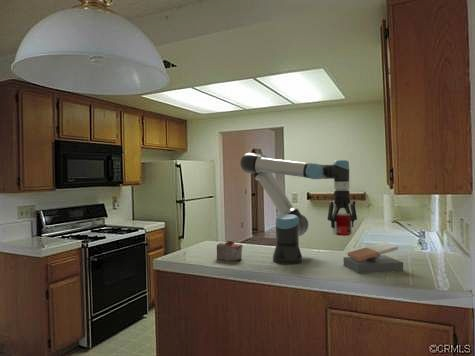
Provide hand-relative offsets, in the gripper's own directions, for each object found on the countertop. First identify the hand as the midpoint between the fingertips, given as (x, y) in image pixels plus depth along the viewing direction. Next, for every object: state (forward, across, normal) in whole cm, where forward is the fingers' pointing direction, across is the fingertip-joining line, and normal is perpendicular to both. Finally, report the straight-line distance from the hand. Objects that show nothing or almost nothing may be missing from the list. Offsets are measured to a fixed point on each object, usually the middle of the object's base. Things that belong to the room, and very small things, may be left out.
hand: (342, 234), depth 168 cm
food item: (+14, -57, +13) cm, 60 cm away
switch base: (+14, +7, -16) cm, 22 cm away
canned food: (+1, 0, 0) cm, 1 cm away
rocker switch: (+7, +7, -16) cm, 19 cm away
